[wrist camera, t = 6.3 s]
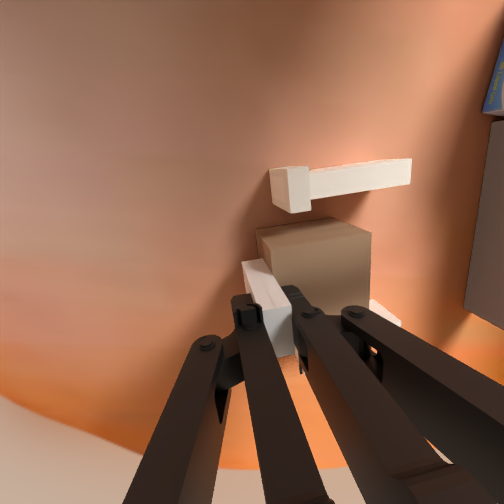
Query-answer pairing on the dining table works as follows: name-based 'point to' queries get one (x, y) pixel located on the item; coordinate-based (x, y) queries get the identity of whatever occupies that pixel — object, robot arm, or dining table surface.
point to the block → (320, 261)
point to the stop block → (489, 238)
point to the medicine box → (496, 88)
